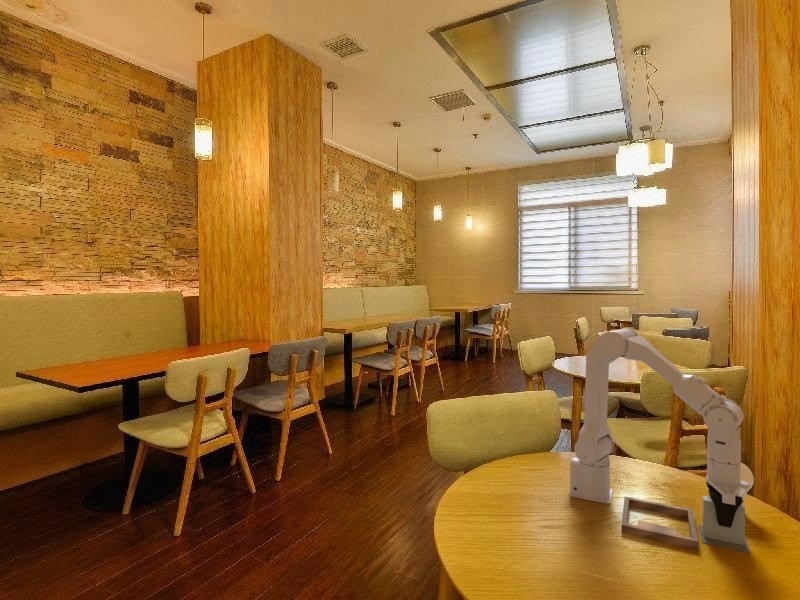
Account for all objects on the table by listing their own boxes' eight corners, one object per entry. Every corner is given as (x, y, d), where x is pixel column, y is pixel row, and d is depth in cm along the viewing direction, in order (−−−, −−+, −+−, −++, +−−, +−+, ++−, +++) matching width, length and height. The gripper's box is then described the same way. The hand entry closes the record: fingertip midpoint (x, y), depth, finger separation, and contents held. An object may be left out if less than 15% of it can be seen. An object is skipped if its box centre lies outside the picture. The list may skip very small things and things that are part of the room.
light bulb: (760, 519, 101) (760, 468, 100) (725, 517, 102) (726, 466, 102) (743, 504, 108) (743, 456, 107) (711, 502, 109) (711, 454, 108)
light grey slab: (703, 536, 95) (703, 500, 94) (702, 531, 96) (702, 495, 96) (744, 545, 91) (744, 507, 91) (742, 539, 93) (743, 502, 93)
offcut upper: (637, 531, 97) (637, 527, 97) (638, 524, 100) (638, 520, 100) (675, 541, 93) (675, 536, 93) (676, 533, 96) (676, 529, 96)
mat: (702, 543, 93) (702, 541, 93) (699, 526, 99) (699, 525, 99) (750, 553, 89) (750, 552, 89) (743, 535, 95) (743, 534, 95)
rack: (621, 533, 97) (621, 524, 97) (624, 504, 109) (624, 496, 109) (698, 551, 90) (698, 541, 90) (692, 517, 102) (692, 509, 102)
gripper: (755, 476, 85) (754, 545, 85) (741, 450, 97) (740, 510, 98) (710, 469, 88) (710, 536, 89) (702, 445, 101) (702, 503, 101)
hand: (723, 522), depth 94 cm, fingers open, 3 cm apart
